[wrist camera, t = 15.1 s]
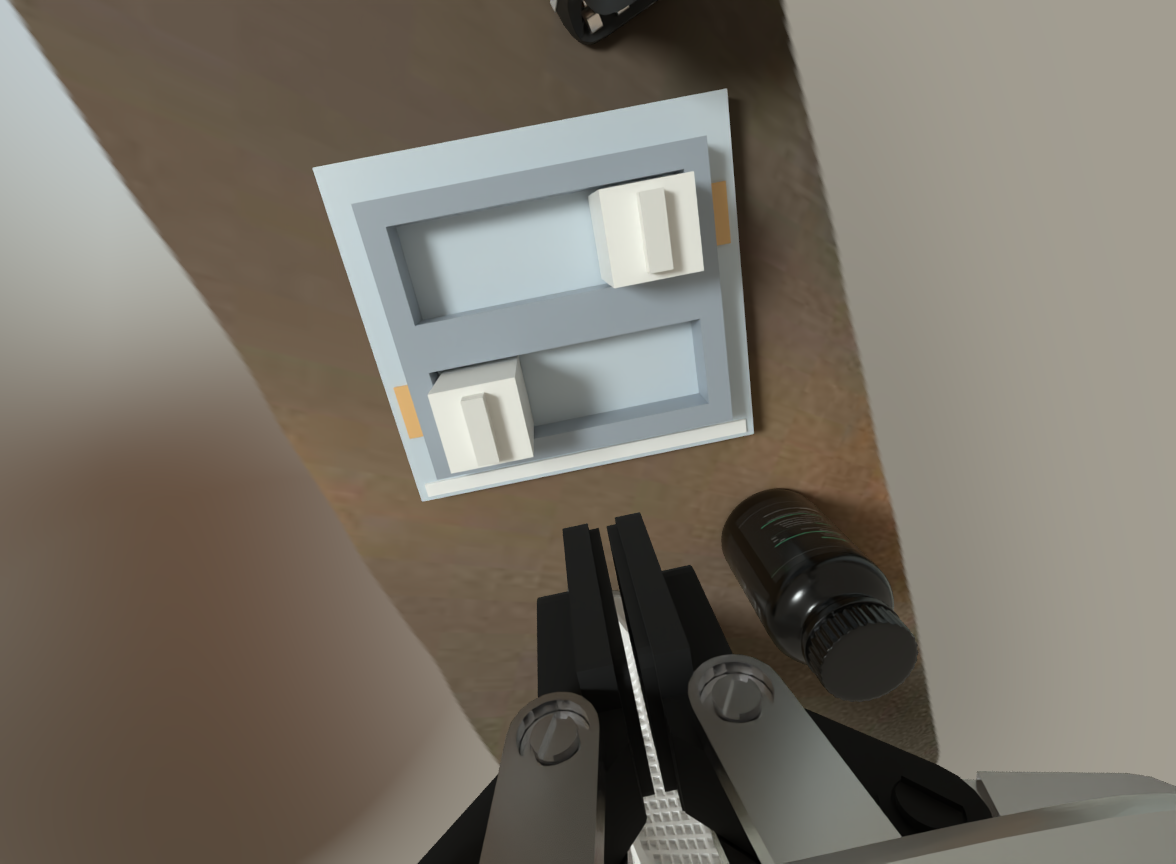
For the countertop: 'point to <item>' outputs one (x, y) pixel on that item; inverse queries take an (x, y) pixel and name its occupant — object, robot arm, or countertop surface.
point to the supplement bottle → (818, 595)
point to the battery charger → (596, 16)
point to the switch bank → (549, 287)
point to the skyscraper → (663, 796)
